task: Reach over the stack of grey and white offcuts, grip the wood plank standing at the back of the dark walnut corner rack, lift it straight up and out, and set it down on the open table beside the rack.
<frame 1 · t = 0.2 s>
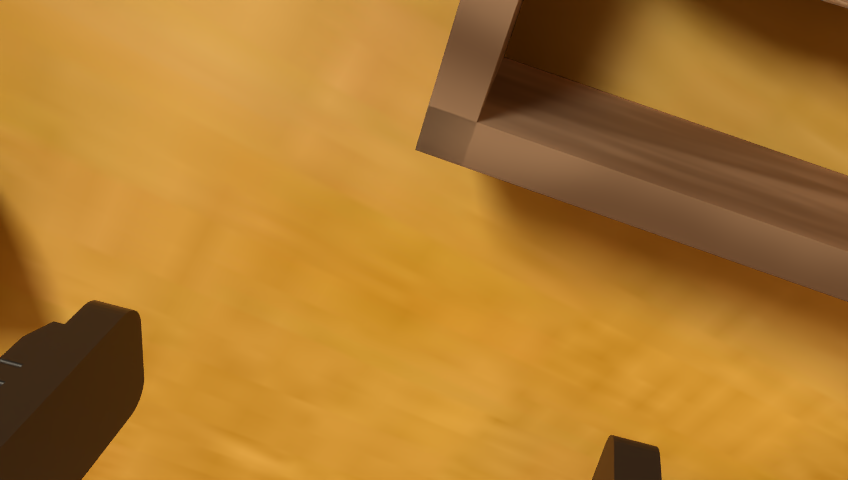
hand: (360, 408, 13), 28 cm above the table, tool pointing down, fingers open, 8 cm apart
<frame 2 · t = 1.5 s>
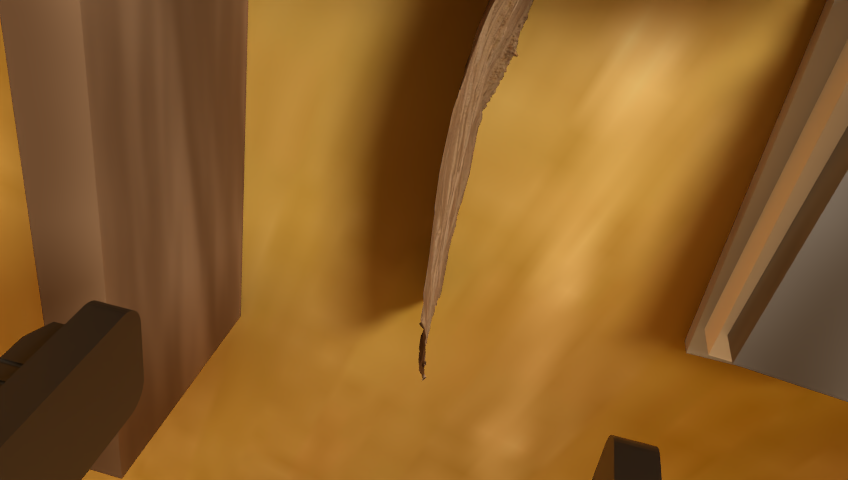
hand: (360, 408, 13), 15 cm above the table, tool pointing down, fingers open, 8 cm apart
wood plank: (500, 110, 26), on the table
walnut rack: (491, 112, 25), on the table
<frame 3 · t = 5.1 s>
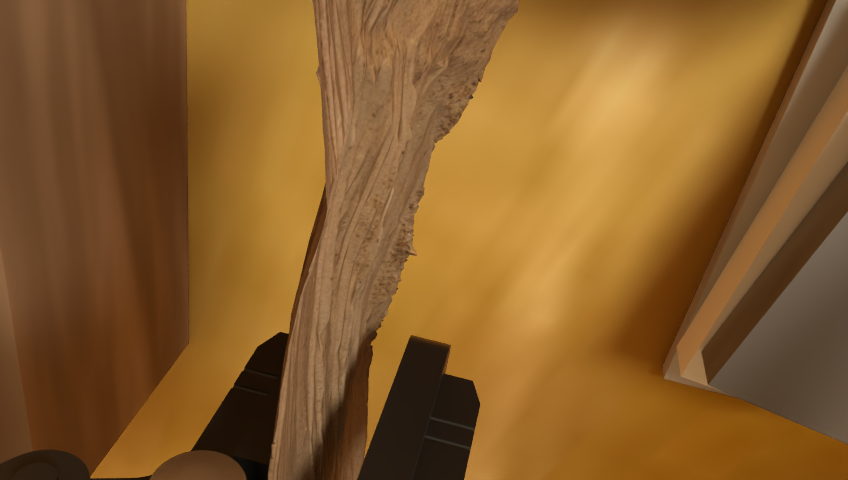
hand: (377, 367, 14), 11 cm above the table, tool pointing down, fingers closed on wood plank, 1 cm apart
wood plank: (403, 335, 14), point 10 cm above the table, touching gripper
walnut rack: (456, 125, 23), on the table
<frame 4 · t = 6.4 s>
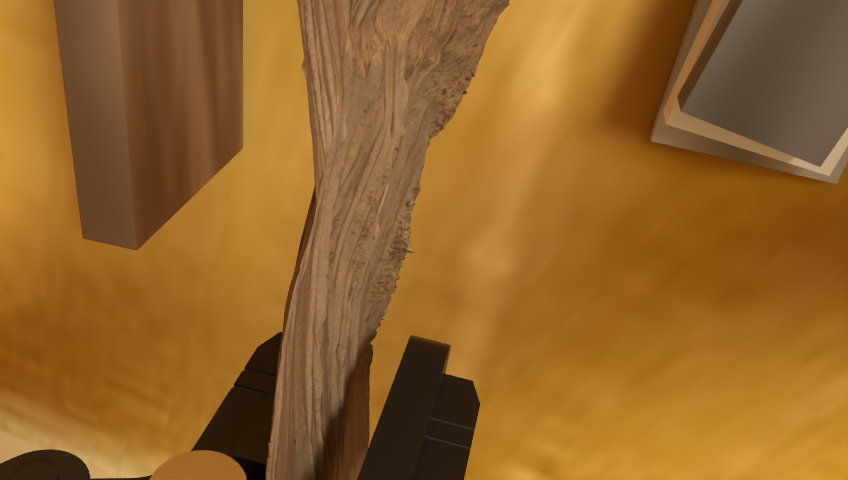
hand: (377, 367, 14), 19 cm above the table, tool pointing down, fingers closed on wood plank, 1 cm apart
wood plank: (403, 334, 14), point 18 cm above the table, touching gripper
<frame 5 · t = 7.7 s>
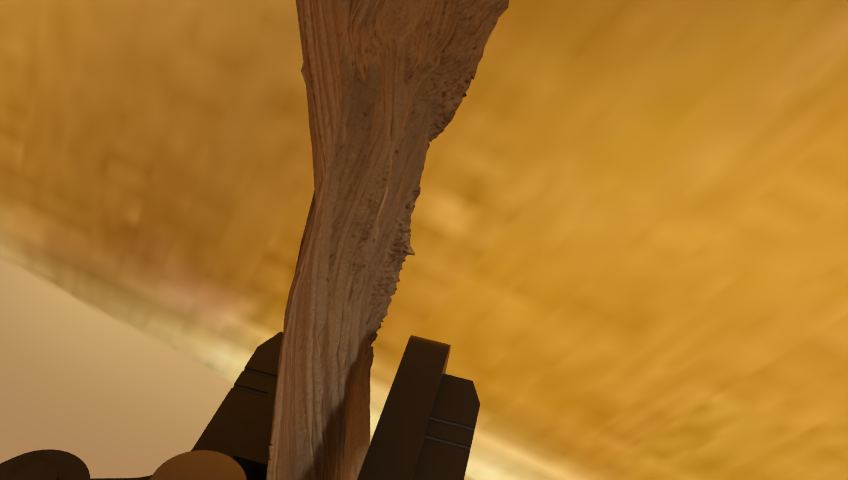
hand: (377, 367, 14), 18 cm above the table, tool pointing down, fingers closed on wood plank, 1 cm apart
wood plank: (404, 336, 14), point 18 cm above the table, touching gripper
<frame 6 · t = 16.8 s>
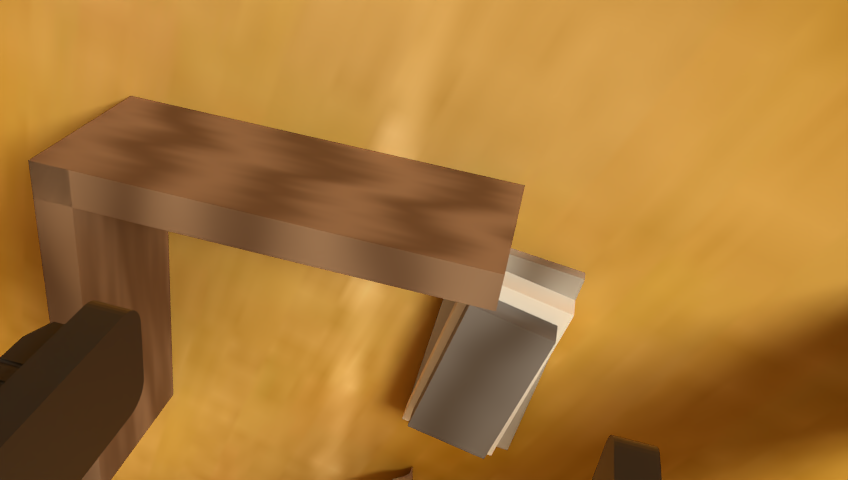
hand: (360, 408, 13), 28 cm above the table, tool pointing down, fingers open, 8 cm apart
grey rectangular block: (481, 369, 45), point 2 cm above the table, touching white offcut
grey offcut: (490, 337, 48), on the table, touching white offcut
white offcut: (485, 354, 47), point 1 cm above the table, touching grey rectangular block, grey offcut
walnut rack: (297, 298, 48), on the table
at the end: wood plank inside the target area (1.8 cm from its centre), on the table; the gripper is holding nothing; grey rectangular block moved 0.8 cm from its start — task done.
